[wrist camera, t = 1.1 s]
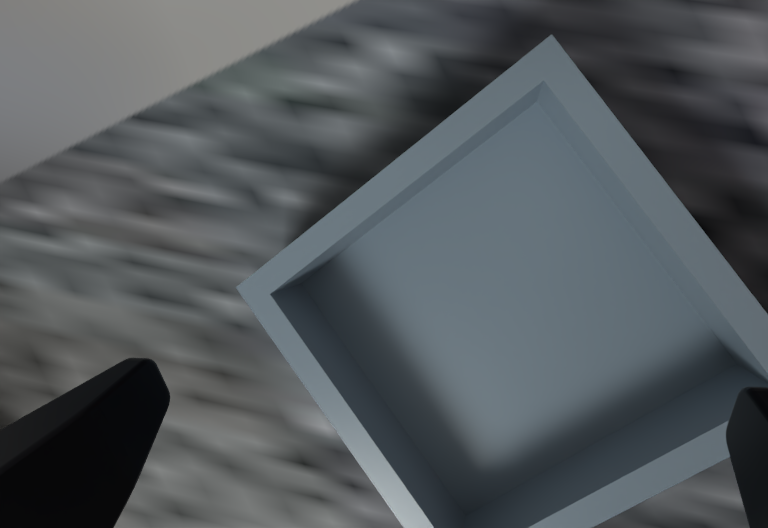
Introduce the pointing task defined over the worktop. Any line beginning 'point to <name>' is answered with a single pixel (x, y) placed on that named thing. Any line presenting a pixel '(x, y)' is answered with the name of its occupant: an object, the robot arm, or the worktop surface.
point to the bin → (517, 316)
